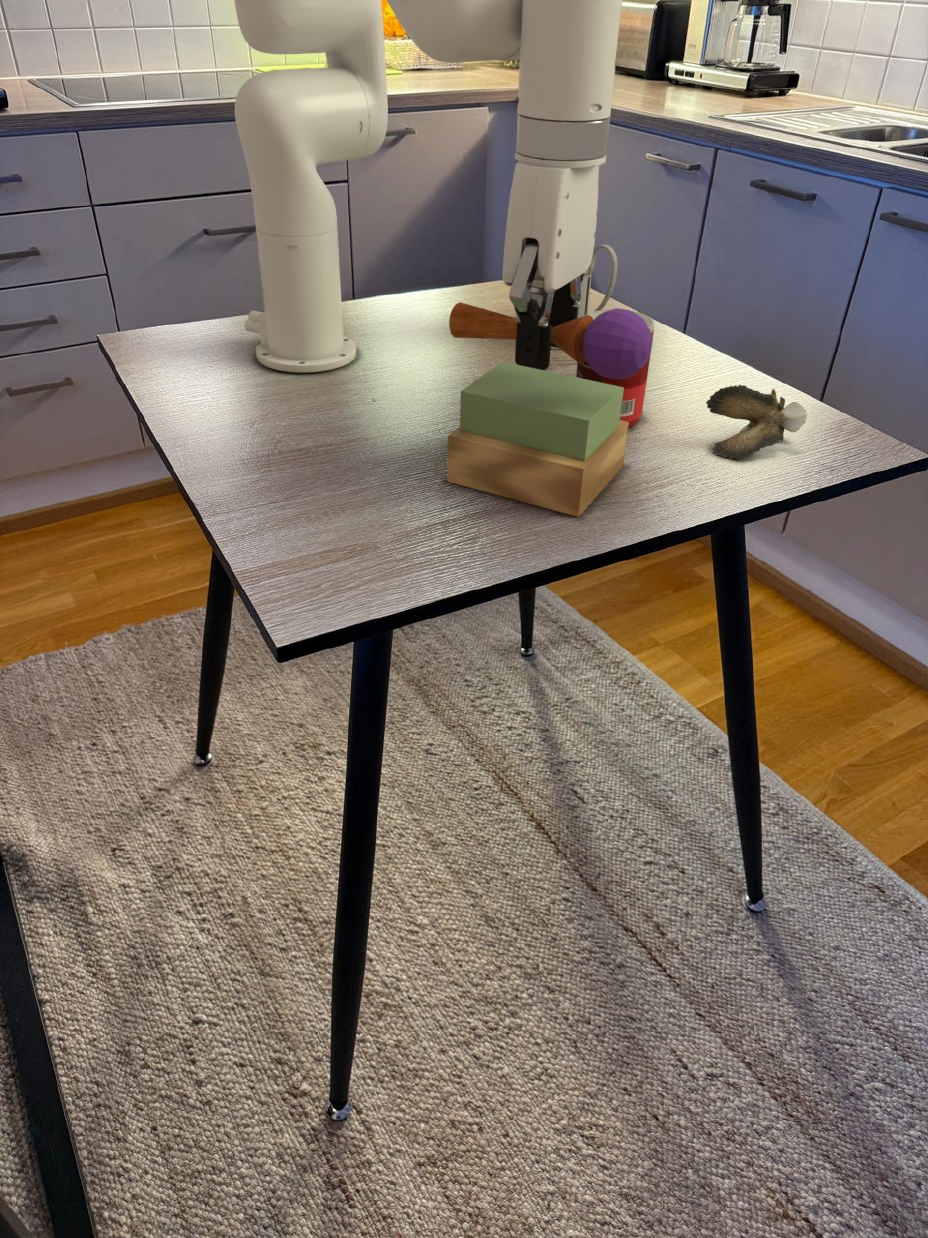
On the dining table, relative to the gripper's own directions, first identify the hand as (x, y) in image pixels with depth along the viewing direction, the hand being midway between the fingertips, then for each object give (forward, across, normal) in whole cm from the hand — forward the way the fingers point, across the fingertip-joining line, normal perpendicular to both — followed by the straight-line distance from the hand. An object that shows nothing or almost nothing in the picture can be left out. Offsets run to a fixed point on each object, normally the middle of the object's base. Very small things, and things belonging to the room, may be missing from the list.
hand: (545, 354), depth 87 cm
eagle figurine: (+13, -18, +17) cm, 28 cm away
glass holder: (+13, -37, -12) cm, 41 cm away
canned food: (+13, -17, +1) cm, 21 cm away
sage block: (+7, 0, 0) cm, 7 cm away
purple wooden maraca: (+1, 0, 0) cm, 1 cm away
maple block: (+12, 0, 0) cm, 12 cm away
